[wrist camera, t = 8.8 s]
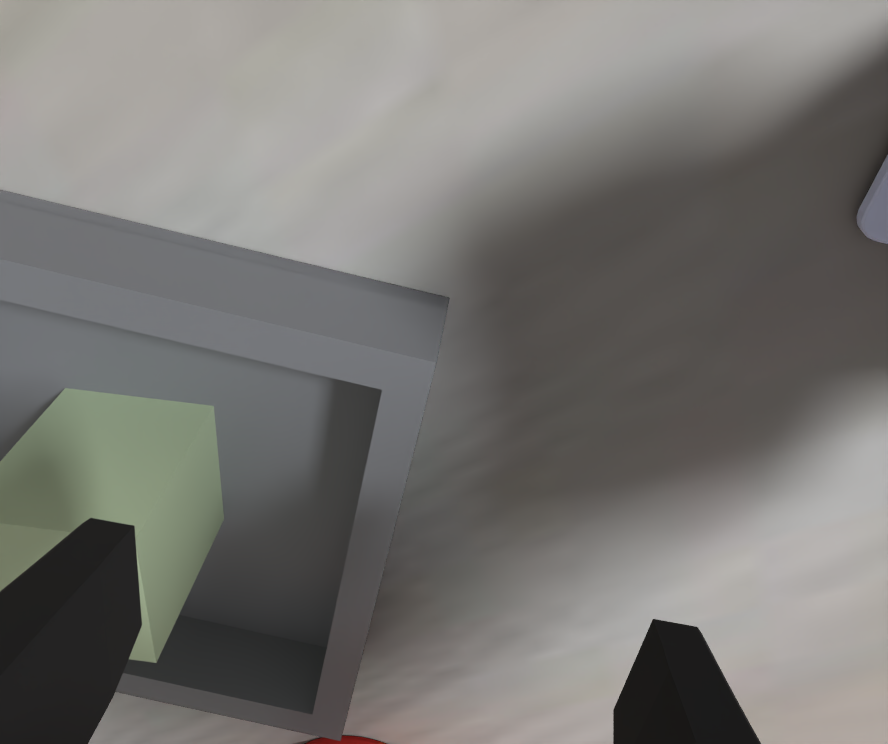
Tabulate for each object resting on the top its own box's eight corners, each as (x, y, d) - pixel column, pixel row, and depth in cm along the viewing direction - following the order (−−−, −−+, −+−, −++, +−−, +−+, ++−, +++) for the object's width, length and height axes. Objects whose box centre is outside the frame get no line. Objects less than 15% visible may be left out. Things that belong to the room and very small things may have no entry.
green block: (213, 405, 21) (134, 540, 17) (223, 519, 24) (156, 662, 19) (65, 388, 22) (-49, 516, 17) (89, 501, 24) (-7, 641, 19)
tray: (449, 298, 20) (436, 362, 17) (358, 659, 27) (340, 741, 25) (-129, 159, 19) (-229, 205, 17) (-58, 566, 27) (-120, 640, 24)
